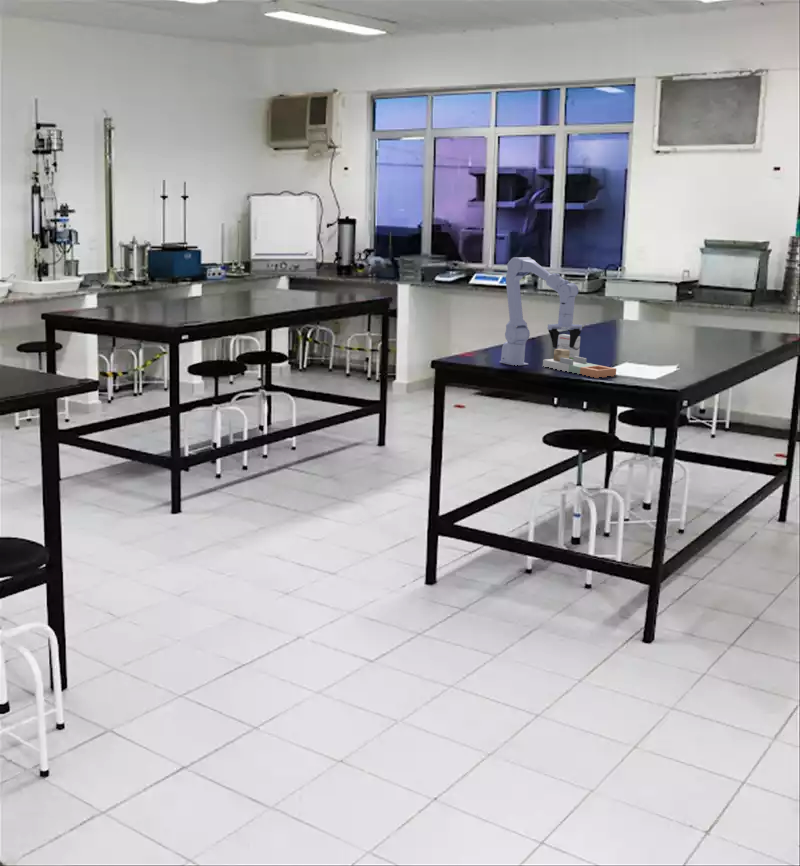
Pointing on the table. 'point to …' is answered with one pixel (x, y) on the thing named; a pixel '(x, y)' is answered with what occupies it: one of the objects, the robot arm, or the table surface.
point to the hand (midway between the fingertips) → (563, 347)
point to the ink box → (564, 344)
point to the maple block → (561, 354)
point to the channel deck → (580, 367)
